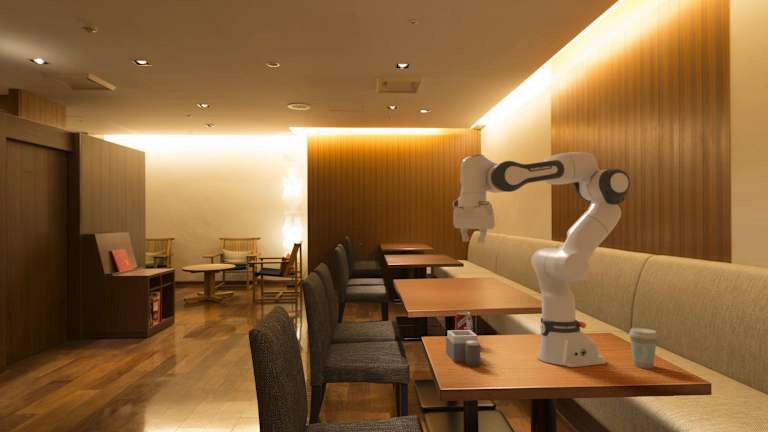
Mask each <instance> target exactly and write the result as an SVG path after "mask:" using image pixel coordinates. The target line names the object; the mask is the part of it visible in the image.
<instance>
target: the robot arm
mask: <svg viewBox="0 0 768 432" xmlns="http://www.w3.org/2000/svg"><path fill="white" fill-rule="evenodd" d="M459 180H460V184H461V185H460V186H461V188H460V193H459V195H460V196H459V197H458V198H457V199H456V200H454V201H453V202H452V207H453V218H452V219H453V220H452V221H453V226H454V228H455V229H460V230H459V231H460V234H461V237H462V242H470V236H468V231H469V229H470V230H471V229H472V230H479V232H478V233H479V236H478V237H477V243H480V244H483V243H485V241H486V240H485V239H486V236H487V233H488V230H493V229H494V228H495V225H496V224H495V214H494V209H493V205H492V204H491V203H490V201H489V200H487V192H490V193H493V194H498V193H511V192H515V191H517V190H519V189H521V187H523V186H525V185H527V184H531V183H537V182H542V181H545V182H546V183H547V184H549V185H567V184H568V185H569V184H573V186H574V191H575V193H576V195H577V197H578V198H579V199H580V200H582V201H583V202H587V203H590V204H589V206H588V208H587V210H586V211H585V212H584V213H582V215H581V216H580V217H578V219H577V220H576V221H575V222H574V223H573V224H572V225H571V227H569V228H568V230H567V231H566V239H565V241H564V242H563V244H562V245H561V246H560V247H557V248H556V247H545V248H541V249H540V248H539V249H538V250H536V251H535V252H534V253H533V254H532V257H531V262H530V263H531V266H532V268H533V270H534V272H535V274H536V277H537V280H538V285H539V288H540V290H539V291H540V294H541V318H540V325H539V326H540V335H541V336H540V343H539V349H538V353H537V355H536V357H537V359H538V360H540V361H542V362H545V363H549V364H552V365H559V366H563V367H568V368H577V367H587V366H594V365H595V366H596V365H604V364H606V363H607V360H606V358H605V357H604V356H602V355H600V354H599V349H598V344H597V343H596V342H595V341H594V340H593V339H592V338H590V336H588V335H587V334H586V333H584V332H583V331H582V330H581V329H585V328H586V327H587V323H586V322H583V321H578V320H577V319H576V297H575V295H574V293H573V292H572V290H571V288H570V284H569V283H573V282H580V281H582V280H584V279H585V278H586V277H587V276H588V274H589V271H590V263H589V261H590V259H591V257H592V255H593V254H594V252H595V250H596V249H597V248H598V246H600V244H601V243H603V241H604V240H605V239H606V238H607V237H608V235H610V234H611V233H612V231H613V229H614V228H615V227H616V226H617V224H618V223H619V222H620V219H621V217H622V209H621V208H620V207H619V205H620V204H621V203H622V202H624V200H625V197H626V196H627V194H628V193H629V191H630V186H631V179H630V177H629V175H628V173H627V172H626V171H624V170H622V169H620V168H608V169H600V168H599V167H598V161H597V159H596V157H595V155H594V154H592V153H590V152H585V151H570V152H569V151H568V152H563V153H562V152H561V153H557V154H553V155H550V156H547V157H546V158H544V159H543V161H539V162H534V163H532V162H531V163H527V164H526V163H520V162H516V161H513V160H505V161H503V162H500V163H496V162H494V161H491V160H490V159H488V158H487V157H486V156H485V155H483V154H474V155H469V156H467V157H465V158H463V159H462V161H461V164H460V179H459Z"/></svg>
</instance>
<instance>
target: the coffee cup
mask: <svg viewBox="0 0 768 432" xmlns="http://www.w3.org/2000/svg"><path fill="white" fill-rule="evenodd" d="M628 335H629V337H630V347H631V354H632V355H631V356H632V364H633V366H635V367H636V368H640V369H653V368H654V364H655V356H656V349H657V348H656V347H657V341H658V336H659V335H658V334H657V331H656V330H654V329H650V328H647V327H646V328H645V327H633V328H632V327H631V328H630V330H629V333H628Z"/></svg>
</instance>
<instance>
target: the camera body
mask: <svg viewBox="0 0 768 432" xmlns="http://www.w3.org/2000/svg"><path fill="white" fill-rule="evenodd" d="M446 332H447V336H445V354H446V355H447V356H448V357H449V358H450V359H451V360H452V362H454V363H458V362H463V363H465V344H466V341H469V340H474V341H478V335H477V334H476V333H475V332H473V330H472V331H471V330H455V329H453V330H452V329H451V330H447V331H446Z"/></svg>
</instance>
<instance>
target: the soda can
mask: <svg viewBox="0 0 768 432" xmlns="http://www.w3.org/2000/svg"><path fill="white" fill-rule="evenodd" d="M473 318H474V317H473V316H472V313H471V312H470V311H464V310H463V311H457V312H456V316H455V318H454V319H455V322H454V323H455V324H454V326H455V327H454V330H471V331H472V332H473V331H474V330H473V326H474V325H473V323H474V322H473Z"/></svg>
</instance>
